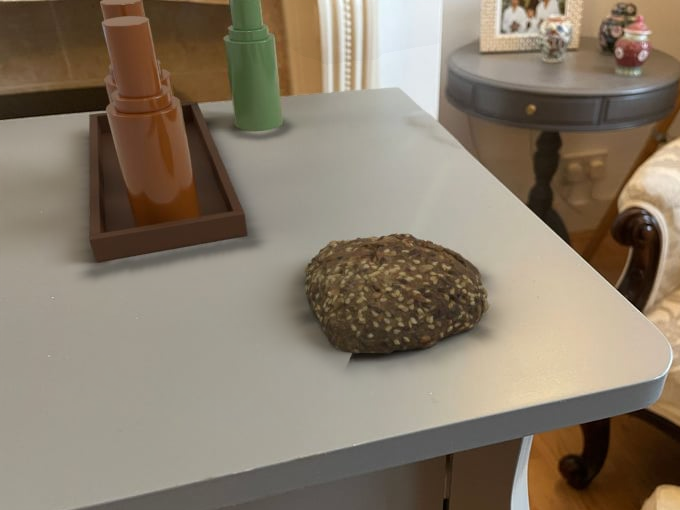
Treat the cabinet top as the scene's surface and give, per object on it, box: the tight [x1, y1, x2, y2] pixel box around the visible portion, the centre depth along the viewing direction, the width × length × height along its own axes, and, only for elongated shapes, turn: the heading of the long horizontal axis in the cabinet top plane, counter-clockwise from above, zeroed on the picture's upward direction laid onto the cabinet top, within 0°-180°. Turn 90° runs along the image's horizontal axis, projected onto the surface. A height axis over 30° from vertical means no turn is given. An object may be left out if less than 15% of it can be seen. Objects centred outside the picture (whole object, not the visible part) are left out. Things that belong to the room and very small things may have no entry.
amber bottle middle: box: [99, 0, 175, 104], centre depth 57 cm, size 5×5×16 cm
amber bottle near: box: [101, 16, 201, 228], centre depth 51 cm, size 5×5×16 cm
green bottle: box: [222, 0, 284, 132], centre depth 71 cm, size 5×5×16 cm
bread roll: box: [304, 232, 490, 355], centre depth 45 cm, size 13×12×5 cm
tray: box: [88, 101, 248, 264], centre depth 62 cm, size 30×12×3 cm, turn 21°
